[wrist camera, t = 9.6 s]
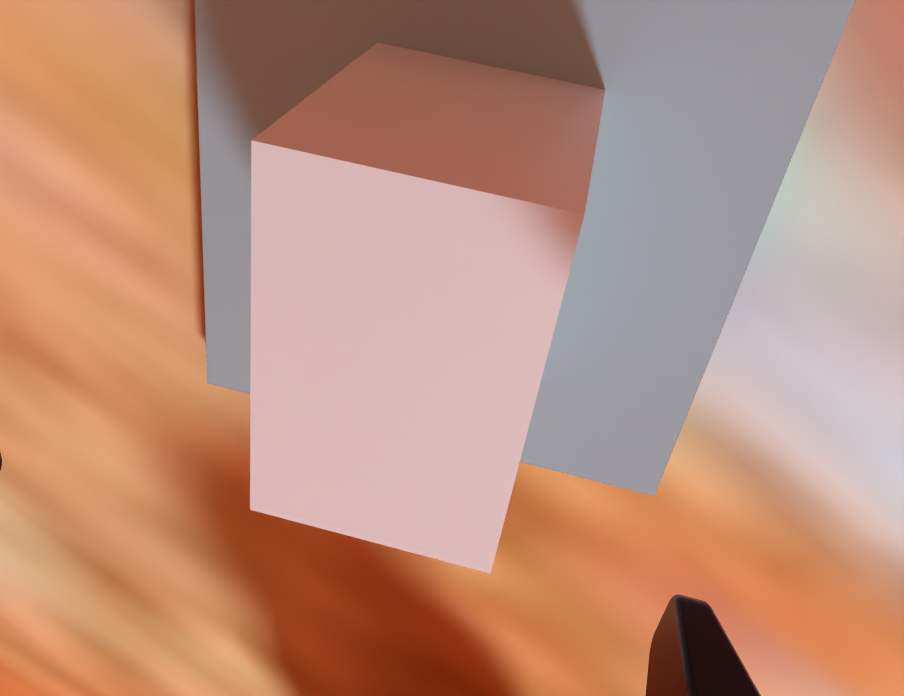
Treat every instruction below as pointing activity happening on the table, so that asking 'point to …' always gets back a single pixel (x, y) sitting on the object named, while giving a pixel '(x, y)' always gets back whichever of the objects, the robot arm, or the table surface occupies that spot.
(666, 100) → the mat
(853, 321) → the table surface
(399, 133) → the block
